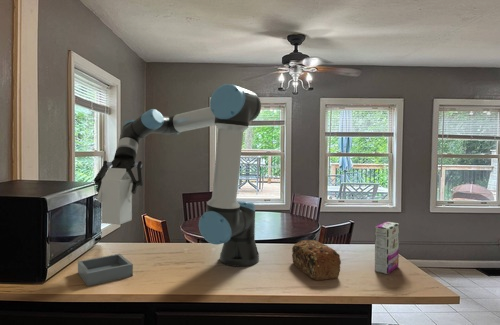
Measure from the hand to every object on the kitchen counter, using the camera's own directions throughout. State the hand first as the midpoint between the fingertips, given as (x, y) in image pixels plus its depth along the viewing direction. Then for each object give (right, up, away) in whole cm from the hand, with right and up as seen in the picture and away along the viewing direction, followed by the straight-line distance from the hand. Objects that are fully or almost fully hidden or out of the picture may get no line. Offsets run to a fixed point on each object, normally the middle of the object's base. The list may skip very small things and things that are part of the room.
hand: (114, 200), depth 112 cm
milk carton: (-1, -8, +4) cm, 9 cm away
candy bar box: (+96, -26, +8) cm, 100 cm away
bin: (-3, -25, 0) cm, 25 cm away
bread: (+69, -26, +6) cm, 74 cm away
